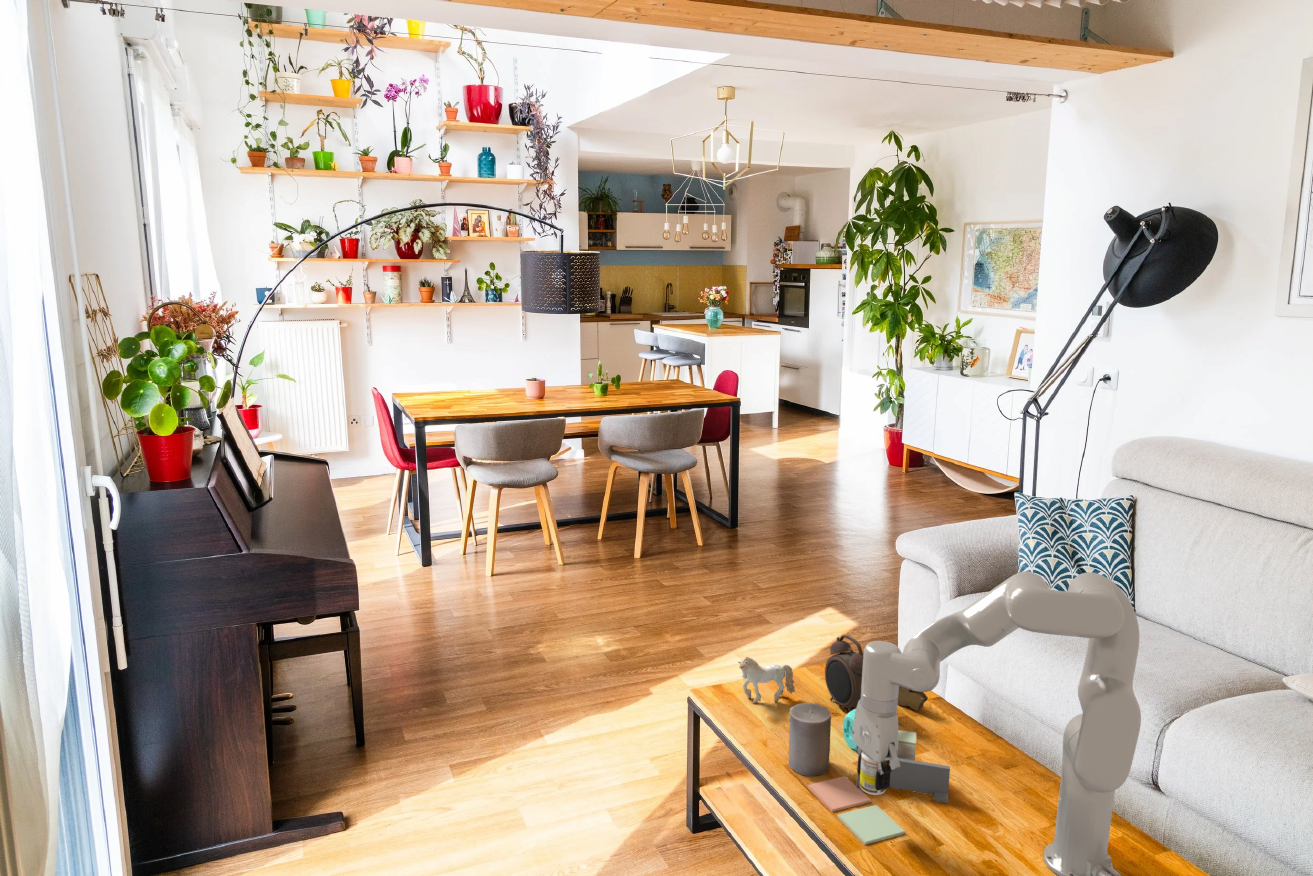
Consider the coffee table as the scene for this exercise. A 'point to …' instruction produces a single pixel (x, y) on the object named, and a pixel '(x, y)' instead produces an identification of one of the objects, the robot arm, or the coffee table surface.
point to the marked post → (906, 745)
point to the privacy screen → (920, 778)
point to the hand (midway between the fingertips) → (873, 779)
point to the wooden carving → (911, 698)
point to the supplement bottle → (869, 774)
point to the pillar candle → (809, 739)
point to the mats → (862, 822)
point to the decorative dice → (849, 729)
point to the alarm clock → (844, 673)
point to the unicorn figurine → (765, 677)
